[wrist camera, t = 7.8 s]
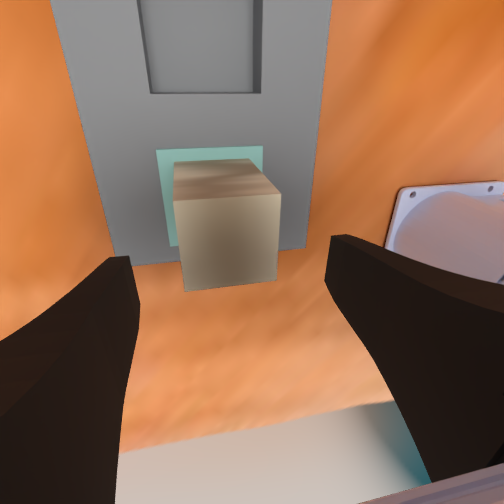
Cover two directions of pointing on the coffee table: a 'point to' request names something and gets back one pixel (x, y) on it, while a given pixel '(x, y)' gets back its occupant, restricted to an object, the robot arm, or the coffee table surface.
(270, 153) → the pocket board
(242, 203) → the birch block
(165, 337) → the coffee table surface
